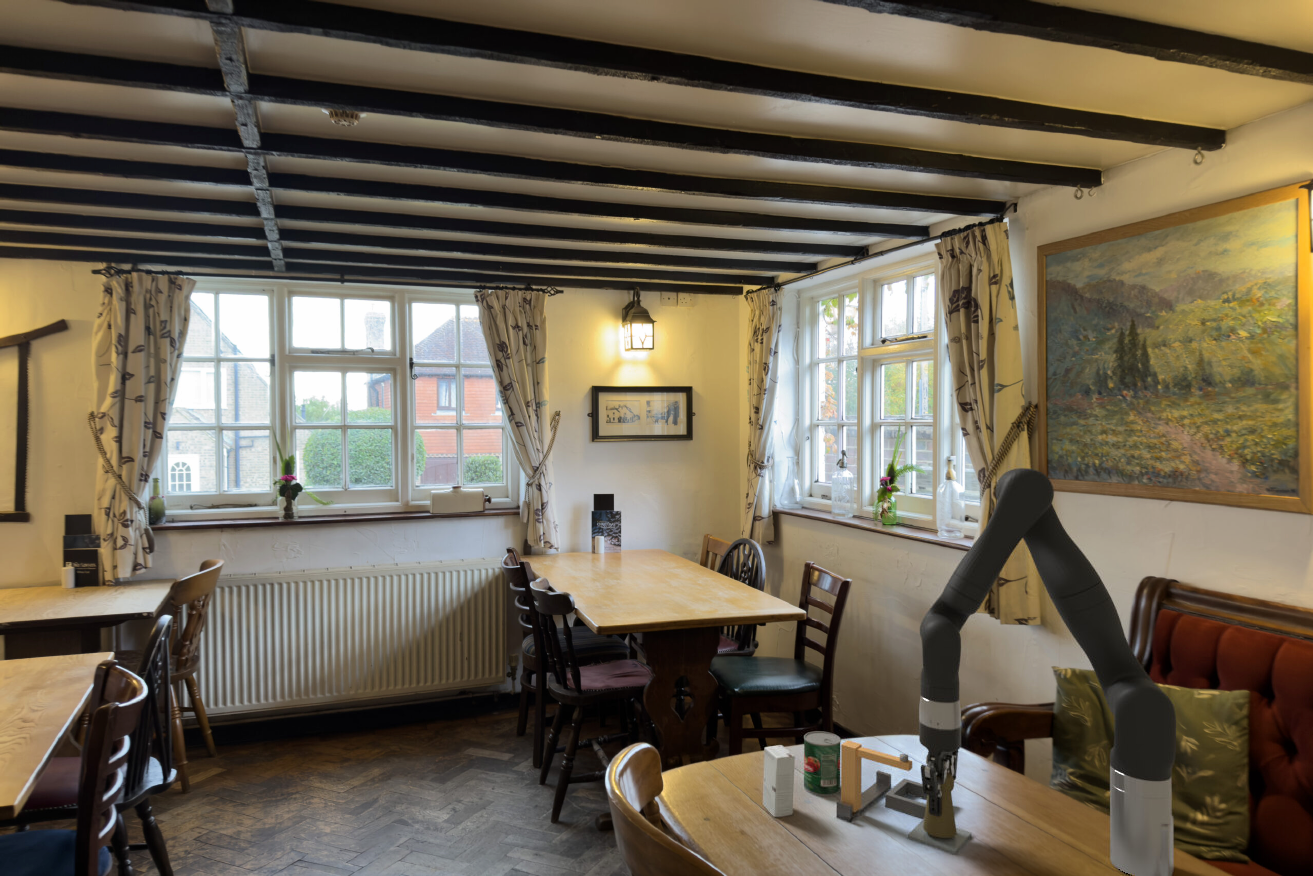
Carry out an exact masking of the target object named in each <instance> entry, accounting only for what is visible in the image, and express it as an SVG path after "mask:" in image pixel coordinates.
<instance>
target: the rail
mask: <svg viewBox="0 0 1313 876" xmlns="http://www.w3.org/2000/svg"><path fill="white" fill-rule="evenodd" d="M875 773H876V774H875V777H876V778H875V779H876V781H875V782H874V783H873V784H872V785H871V786H869V787H868V788H866V790H864V791H863V792H861V808H860V809H859V810H857V811H856V812H853V805H850V804H847V803H844V802H841V800H838V801H836V818H837V819H840V820H843V821H846V822H848V823H852V822H853V821H854V820H855V819H856V818H857V817H858V816H860V815H861V814H862V813H863V812H865V811H866V810H867V809H868V808H869V807H871V806H872V805H873V804H874V803H875V802H876V801H878V800H879V799H880V798H881V797H882V796H885V794H886V793H887V792H889V791H890V790H891V789H892V774H891V773H888V772H884V771H881V770H877V771H875Z"/></svg>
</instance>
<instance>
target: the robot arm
mask: <svg viewBox="0 0 1313 876" xmlns="http://www.w3.org/2000/svg"><path fill="white" fill-rule="evenodd" d="M995 497H996V500H997V503H996V505H995V507H994V510H993V512H992V514H991V516H990V519H989V521H988V522H987V525H986V526H985V527H984V528H983V530H982V533H981V534H980V535H979V537H978V538H977V540H976V541H974V543H973V544H972V546H971V547H970V548H969V550H968V551H967V552H966V554H965V555H964V556H963V557H962V559H960V560H961V561H960V562H959V563H958V565H957V567H956V568H955V570H954V571H953V572H952V575H950V578H949V579H948V581H947V583H946V585H945V587H944V588H943V591H942V592H941V594H940V596H939V597H938V598H937V599H936V600H935V602H933V604H932V605H931V607H930V608H929V609H928V611H927V612H926V614H925V616H924V618H923V619H922V620H921V622H920V626H919V635H920V638H921V646H922V647H921V648H922V669H921V671H920V700H919V709H918V711H919V712H918V715H919V716H918V717H919V718H918V719H919V720H918V721H919V722H918V723H919V724H918V726H919V727H918V730H919V731H918V732H919V733H918V734H919V738H918V739H919V743H920V744H921V745H922V746H923V747H924V748H926V749H927V754H926V759H925V764H926V765H924V764H921V765H920V775H921V784H922V785H923V793H924V794H927V795H929V813H930V814H931V815H934V816H937V817H940V816H941V814H942V785H944V784H945V783H946V775H947V773H950V774H951V775H952V777H953V779H954V781H956V779H957V770H958V769H957V768H958V761H959V760H958V759H959V758H958V757H959V750H960V749H961V747H962V709H961V703H960V702H961V700H960V676H959V675H960V674H959V672H960V666H961V656H962V655H961V654H962V637H961V630H962V629H963V627H964V625H965V623H966V622H967V621H968V619H969V618H970V616H971V615H974V614H975V613H977V612H978V610H979V609H980V608H981V606H982V604H983V603H984V601H985V600H986V597H987V596H988V594H989V593H990V591H991V589H992V587H993V586H994V584H995V582H996V580H997V579H998V578H999V576H1000V574H1001V572H1002V570H1003V568H1004V567H1005V565H1006V563H1007V561H1008V560H1009V558H1010V557H1011V555H1012V554H1013V552H1014V551H1015V549H1016V548H1017V546H1018V545H1019V543H1020V542H1021V541H1022V540H1023V541H1024V542H1025V545H1026V547H1027V549H1028V551H1029V553H1030V556H1031V558H1032V560H1033V562H1034V566H1035V568H1036V570H1037V573H1038V575H1039V576H1040V579H1041V581H1042V584H1043V586H1044V588H1045V590H1046V591H1047V594H1048V596H1049V598H1050V599H1051V601H1052V603H1053V605H1054V607H1055V609H1056V611H1057V612H1058V614H1059V616H1060V618H1061V620H1062V621H1063V623H1064V625H1065V626H1066V628H1067V629H1068V630H1069V633H1070V634H1071V635H1072V637H1073V638H1074V640H1075V641H1076V643H1078V646H1080V648H1081V649H1082V651H1083V652H1084V654H1085V655H1086V657H1087V658H1088V660H1089V662H1090V665H1091V666H1092V669H1093V671H1094V673H1095V675H1096V678H1097V680H1098V683H1099V684H1100V685H1099V686H1100V687H1101V691H1102V693H1103V695H1104V698H1105V700H1106V704H1107V706H1108V708H1109V710H1110V712H1111V713H1112V715H1113V716H1114V737H1113V738H1114V740H1113V741H1114V742H1113V747H1112V748H1111V749H1110V754H1109V760H1110V761H1109V777H1110V778H1109V791H1110V793H1109V795H1110V796H1109V797H1110V798H1109V802H1110V803H1109V807H1110V809H1109V811H1110V813H1109V825H1110V826H1109V827H1110V828H1109V829H1110V830H1109V833H1110V834H1109V835H1110V836H1109V838H1110V839H1109V840H1110V841H1109V843H1110V844H1109V852H1110V853H1109V857H1110V859H1109V860H1110V862H1111V864H1112V865H1113V867H1115V868H1116V869H1118V870H1119V869H1120V870H1119V871H1120V872H1122V871H1123V872H1122V873H1124V872H1125V874H1126V873H1128V874H1132V875H1135V876H1173V873H1174V862H1175V861H1174V816H1173V814H1172V771H1173V770H1172V768H1173V765H1174V764H1175V760H1176V746H1177V744H1176V740H1177V717H1176V716H1177V715H1176V710H1175V707H1174V704H1173V702H1172V700H1171V698H1170V697H1169V696H1168V695H1167V694H1166V693H1165V692H1164V691H1163V690H1162V688H1160V687H1159V686H1158V685H1157V684H1156V683H1155V682H1154V681H1153V679H1151V677H1150V676H1149V675H1148V673H1147V672H1146V670H1145V669H1144V667H1143V666H1142V664H1141V663H1140V661H1139V660H1138V658H1137V657H1136V655H1135V653H1134V652H1133V650H1132V648H1131V646H1130V644H1129V643H1128V640H1127V637H1126V634H1125V632H1124V628H1123V625H1122V621H1121V618H1120V614H1119V613H1118V611H1117V608H1116V605H1115V604H1114V601H1113V598H1112V597H1111V595H1110V593H1109V591H1108V589H1107V587H1106V586H1105V584H1104V582H1103V580H1102V578H1101V576H1100V575H1099V573H1098V571H1097V570H1096V569H1095V567H1094V566H1093V564H1092V563H1091V562H1090V561H1089V559H1088V558H1087V557H1086V555H1085V554H1084V553H1083V552H1082V550H1081V548H1079V546H1078V545H1077V543H1076V542H1074V540H1073V539H1072V537H1070V534H1068V532H1067V531H1066V529H1065V528H1064V526H1063V524H1062V522H1061V521H1060V518H1059V517H1058V514H1057V512H1056V510H1055V508H1054V505H1053V501H1054V497H1055V490H1054V486H1053V484H1052V481H1051V480H1050V479H1049V477H1047V475H1046V474H1044V473H1043V472H1041V471H1039V470H1037V469H1033V468H1027V467H1021V468H1013V469H1010V470H1008V471H1006V472H1005V473H1003V474H1002V475H1001V476H1000V477H999V478H998V480H997V483H996V486H995ZM937 776H939V777H941V779H937ZM931 786H932V787H933V788H932V787H931ZM1128 874H1127V875H1128Z"/></svg>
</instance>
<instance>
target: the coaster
mask: <svg viewBox="0 0 1313 876" xmlns="http://www.w3.org/2000/svg"><path fill="white" fill-rule="evenodd" d="M923 825H924V819H922V820H920V822H919V823H917V824H916V825H915V827H914V828H913V829H912V830H911V831H910V832H909V833H907V839H909V840H912V841H914V842H917V843H919V844H923V845H926V846H929V847H931V848H935V849H937V850H940V851H943V852H945V853H949V854H951V855H954V856H956V855H957V854H958V853H959V851H960V850H961V849H962V848H963V847H964V845H965V844H966V843H967V841H968V840H969V839H970V838H971V837H972V832H970V831H967V830H964V829H961V828H958V827H956V832H957V834H956V835H955V836H954V837H950V838H941V837H936V836H933V835H931V834H929V833H927V832H926V831H925V830H924V829H923Z"/></svg>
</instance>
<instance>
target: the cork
mask: <svg viewBox="0 0 1313 876" xmlns="http://www.w3.org/2000/svg"><path fill="white" fill-rule="evenodd" d="M937 779H941V777H939V776H937ZM931 787H932V786H931ZM932 788H933V787H932ZM954 788H955V780H954V779H953V777H952V775H951V774H950V773H947V775H946V783H945V784H944V785H942V814H941V816H940V817H937V816H934V815H931V814H930V813H929V795H927V800H926V803H925V804H926V810H925V817H924V825H923V829H924V830H925V831H926V832H927V833H929V834H931V835H933V836H936V837H941V838H950V837H954V836H955V835H956V834H957V832H956V828H957V826H956V819H955V818H956V817H955V811H954V805H953V804H954V803H953V797H952V791H953V790H954Z"/></svg>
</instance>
